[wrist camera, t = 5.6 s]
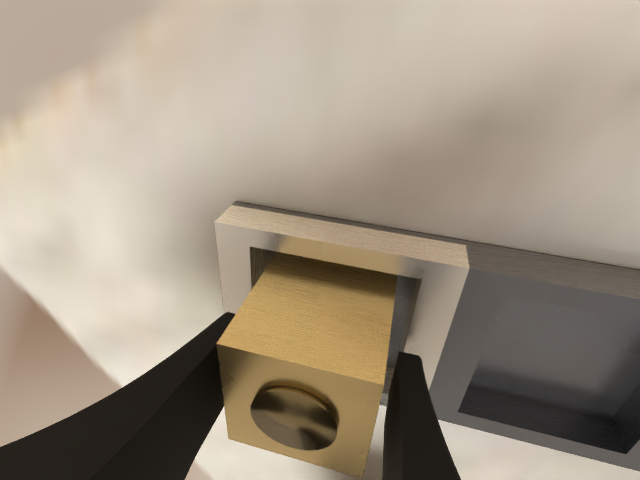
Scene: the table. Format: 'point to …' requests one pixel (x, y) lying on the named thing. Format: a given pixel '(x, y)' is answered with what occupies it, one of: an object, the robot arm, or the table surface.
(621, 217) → the table surface
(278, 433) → the brass cube with hole
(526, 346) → the tray
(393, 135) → the table surface
